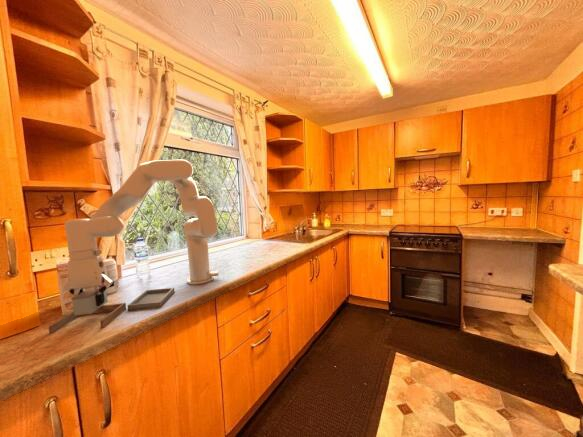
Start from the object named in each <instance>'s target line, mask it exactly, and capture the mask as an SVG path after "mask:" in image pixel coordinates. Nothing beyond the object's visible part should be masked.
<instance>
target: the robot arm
mask: <svg viewBox="0 0 583 437" xmlns="http://www.w3.org/2000/svg"><path fill="white" fill-rule="evenodd" d="M193 174H194V167H193V165H192V163H190V161H188V160H186V159H165V160H163V159H159V160H150V161H147V162H143V163H140V164H139V165H138V166H137V167H136V168H135V169H134V171H132V173H131V174H130V176H128V178H127V179H126V181H124V183H122V185H121V187H120V188H119V189H117V191H115V192H114V193H113V194H112V195H111V196H110V197H109V198H108V199H107V200H106V201H105V202H103V203H102V204H101V205H100V206H99V208H98V209H97V210H96V211H95V213H94V214H92V216H91V217H90V218H85V217H84V218H73V219H68V220H66V221H65V222H64V230H65V236H66V243H67V250H68V257H69V258H70V260H69V261H68V267H67V277H68V282H67V284H66V285H65V286H64V289H65V290H67V291H69V292H70V293H71V294H73V295H74V296H76V295H78V294H80V293H82V292H83V291H85V289H89V288H92V287H94V289H95V291H96V293H97V295H96V296H95V297H96V304H97V306H100V305H102V304H103V303H104V301H105V298H104V292H105V290H106V289H107V288H108V287H109V286H110V285H111V284H112V283H113V282H112V281H111V280H110V279H109V278H108V275H107V270H106V266H105V263H104V261H103V257H102V255H101V254H102V253H103V252H102V249H99V247H98V242H97V241H98V240H97V238H112V237H115V236H119V235H120V234H121V233H122V231H123V230H124V227H125V225H124V222H123V220H122V219H121V218H120V217H121V216H122V215H123V214H124V213H126V211H128V210H129V209H131V208H133V207H136V206H138V205H139V204H140V203H141V202H143V200H144V199H145V198H146V196H147V194H148V193H149V192H150V191H151V189H152V188H153V186H155V184H156V183H160V182H171V183H172V184H173V185H174V186H175V188H176V189H177V192H178V195H179V200H180V204H181V209H182V211H183V212H182V213H183V214H185V215H186V216H188V217H195V218H191V219H188V220H187V221H186V222H185V223H184V226H183V232H184V237H185V239H186V244H187V259H188V268H189V269H188V270H189V277H188V278H187V279H186V283H187V284H189V285H202V284H206V283H209V282H211V281H213V280H214V277H219V273H220V272H219V271H212V269H211V268H210V259H209V246H208V245H209V244H208V241H207V239H211V238H213V237H215V236H216V234H217V232H218V222H217V216H216V212H215V208H214V207H215V206H214V203H213V202H212V200H211V199H210V198H209V197H207V196H205V195H201V196H200V195H199V192H198V187H197V184H196V182H195V180H194V179H193V177H192V175H193ZM102 283H105V285H104V286H103V284H102Z"/></svg>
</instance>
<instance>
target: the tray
mask: <svg viewBox="0 0 583 437" xmlns="http://www.w3.org/2000/svg"><path fill="white" fill-rule="evenodd" d="M174 293H175V287H166V288H155V289H147V290H145V291H143V292H142V293H141V294H140V295H138V296H137V297H136V298H135V299H134V300H132V301H131V302H130V303H129V304H128V305H127V304H126V307H127V312H129V311H137V310H138V311H139V310H145V309H146V310H147V309H156V308H157V309H159V308H162V306H163V305H164V304H165V303H166V302H167V301H168V300H169V299H170V297H172V295H173V294H174Z"/></svg>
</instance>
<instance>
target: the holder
mask: <svg viewBox="0 0 583 437" xmlns="http://www.w3.org/2000/svg"><path fill="white" fill-rule="evenodd" d="M126 310H127V304H126V302H121V303H111V304H104V305H103V306H101V307H100V308H98V309H97V310H96V311H94V312H93V313H91V315H92V314H100V313H108V314H107V315H106V316H104V317H103V318H102V319H100V320H99V322H100V329H104V328H105V327H106V326H108V325H109V324H110V323H111V322H113V321H114V320H116V318H118V317H119V316H120V315H122V314H123V312H124V311H126ZM79 317H81V315H74V311H73V312H72V313H70V314H68V315H65V316H62V318H60V319H58V320H56V321H55V322H54V323H52V324H50V325H48V332H49V334H50V335H52V334H54V333H55V332H57V331H59V330H60V329H61V328H64V327H65V326H67V325H68V324H69V323H71V322H73V321H74V320H76V319H77V318H79Z"/></svg>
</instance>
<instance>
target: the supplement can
mask: <svg viewBox="0 0 583 437" xmlns="http://www.w3.org/2000/svg"><path fill="white" fill-rule="evenodd" d="M103 261H104V263H105V266H106V270H107V275H108V278H109V279H110V280H111V281H112V282H113V283H112V284H111V285H110V286H109V287H108V288H107V289H106V293H107V295H110V294H114V293H116V292H118V290H119V289H120V286H119V277H118V266H117V261H116V260H115V259H114V258H105V259H103ZM102 284H103V286H104V285H105V283H102Z"/></svg>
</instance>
